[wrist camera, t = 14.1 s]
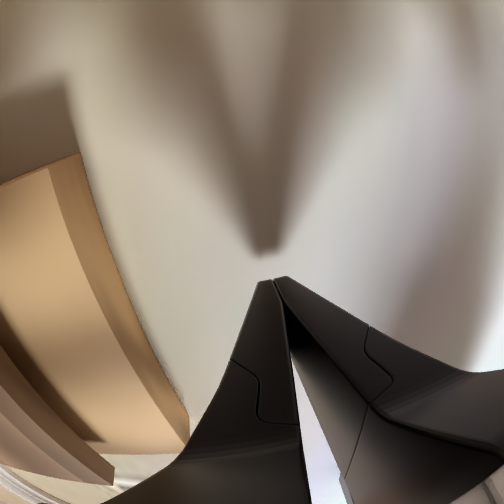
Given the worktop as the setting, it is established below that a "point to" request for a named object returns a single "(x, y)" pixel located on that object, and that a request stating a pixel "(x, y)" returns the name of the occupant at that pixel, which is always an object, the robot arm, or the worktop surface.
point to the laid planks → (42, 435)
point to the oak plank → (79, 318)
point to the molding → (25, 488)
